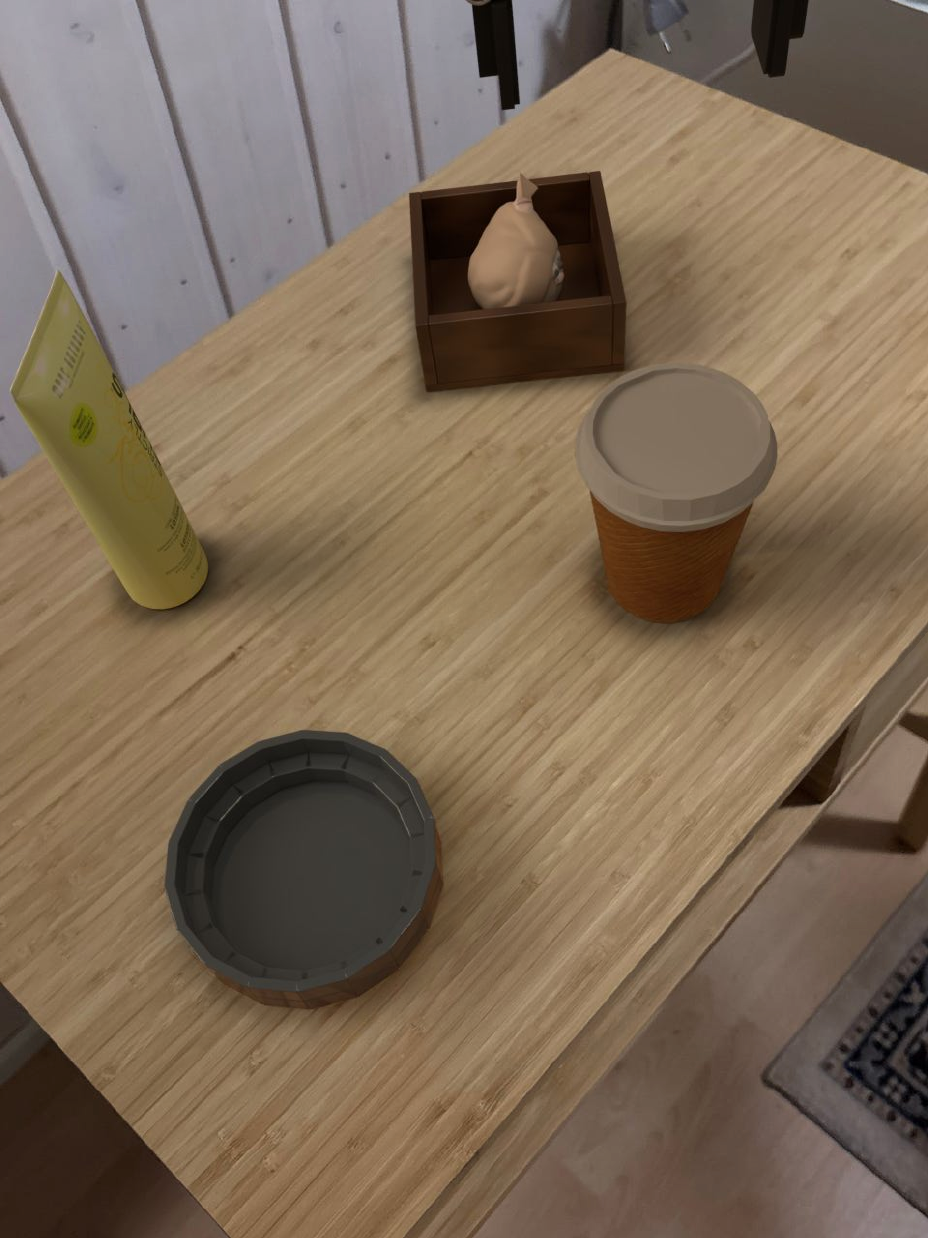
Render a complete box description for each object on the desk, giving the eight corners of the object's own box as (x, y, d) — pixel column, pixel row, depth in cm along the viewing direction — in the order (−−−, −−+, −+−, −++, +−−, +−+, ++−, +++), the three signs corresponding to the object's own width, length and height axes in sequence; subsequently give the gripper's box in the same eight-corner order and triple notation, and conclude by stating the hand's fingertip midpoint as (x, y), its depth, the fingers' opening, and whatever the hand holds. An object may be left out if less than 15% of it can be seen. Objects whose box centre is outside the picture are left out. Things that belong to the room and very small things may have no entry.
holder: (600, 240, 79) (600, 169, 75) (624, 370, 72) (626, 302, 68) (419, 260, 80) (408, 192, 75) (426, 392, 73) (415, 325, 68)
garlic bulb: (587, 302, 75) (587, 198, 68) (520, 355, 73) (513, 254, 66) (515, 259, 78) (508, 156, 71) (448, 310, 76) (434, 208, 69)
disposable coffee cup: (678, 680, 60) (695, 543, 50) (542, 584, 64) (533, 439, 54) (786, 567, 63) (823, 416, 53) (650, 482, 67) (660, 327, 57)
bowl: (437, 749, 59) (429, 717, 56) (450, 1001, 52) (441, 980, 49) (197, 771, 60) (177, 741, 57) (177, 1024, 53) (153, 1004, 50)
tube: (231, 587, 66) (113, 333, 50) (153, 635, 65) (7, 389, 48) (185, 527, 69) (59, 267, 52) (110, 571, 67) (-43, 319, 51)
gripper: (299, -472, 27) (408, 161, 41) (1050, -593, 26) (897, 103, 40) (312, -556, 31) (407, 46, 46) (960, -664, 30) (850, -11, 44)
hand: (636, 72), depth 43 cm, fingers open, 9 cm apart
